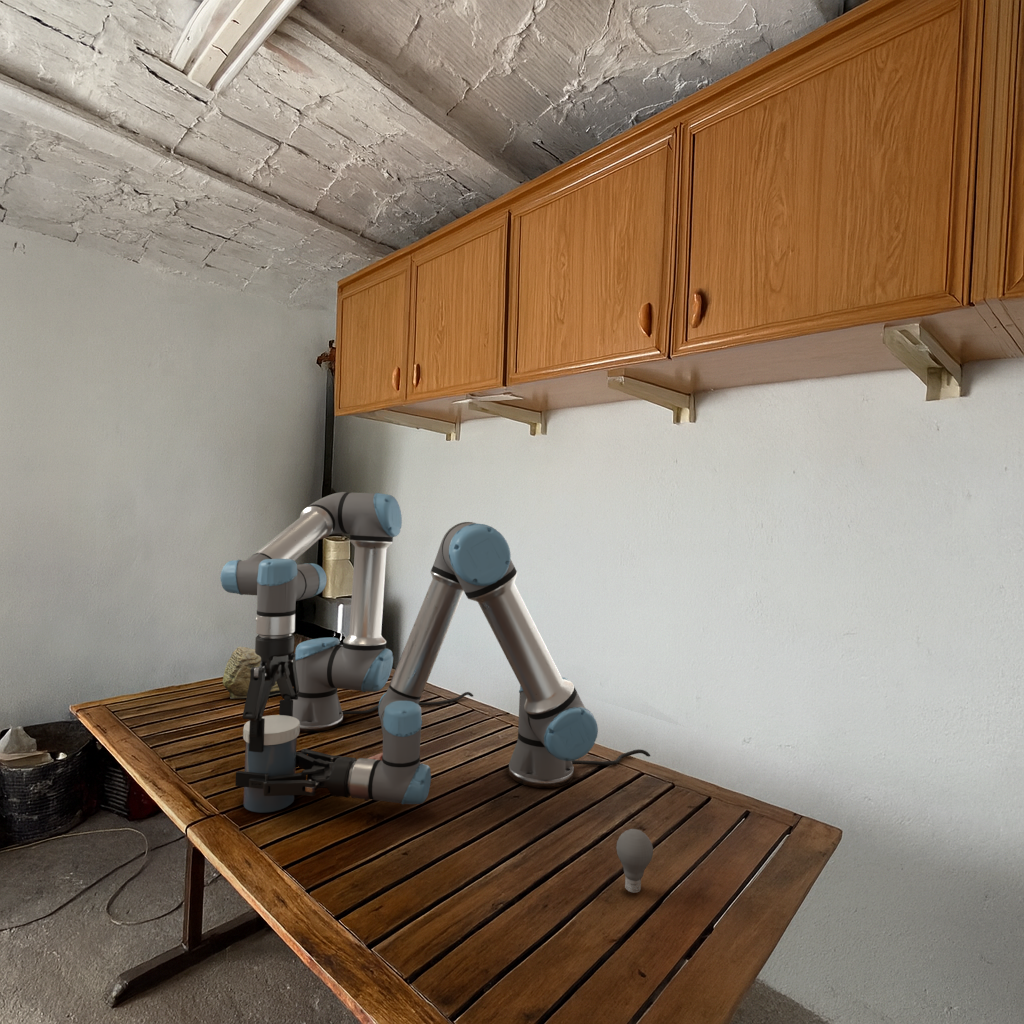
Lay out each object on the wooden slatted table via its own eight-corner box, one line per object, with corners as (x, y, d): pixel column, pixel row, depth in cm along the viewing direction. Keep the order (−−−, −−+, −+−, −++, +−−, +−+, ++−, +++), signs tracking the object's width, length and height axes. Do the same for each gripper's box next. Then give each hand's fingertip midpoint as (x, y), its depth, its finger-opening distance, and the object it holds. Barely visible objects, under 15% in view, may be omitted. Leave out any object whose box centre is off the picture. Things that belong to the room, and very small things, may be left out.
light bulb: (610, 879, 108) (613, 822, 108) (644, 879, 109) (647, 822, 109) (619, 902, 102) (622, 840, 102) (655, 901, 103) (658, 840, 103)
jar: (238, 796, 132) (241, 722, 132) (287, 786, 138) (290, 715, 138) (249, 817, 124) (252, 738, 124) (300, 805, 130) (303, 730, 129)
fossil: (218, 695, 195) (220, 647, 195) (278, 685, 208) (279, 640, 207) (228, 703, 189) (230, 653, 188) (289, 692, 201) (290, 645, 201)
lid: (244, 748, 123) (245, 736, 123) (241, 729, 133) (241, 718, 133) (303, 741, 128) (303, 729, 128) (295, 723, 138) (296, 712, 138)
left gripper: (286, 622, 142) (282, 719, 143) (224, 645, 119) (220, 761, 120) (317, 625, 141) (314, 722, 142) (261, 648, 118) (257, 765, 119)
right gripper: (330, 823, 118) (218, 811, 120) (372, 772, 140) (276, 763, 143) (332, 783, 117) (220, 772, 120) (373, 739, 140) (277, 730, 143)
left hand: (271, 740), depth 131 cm, fingers closed on lid, 11 cm apart
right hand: (250, 767), depth 131 cm, fingers closed on jar, 10 cm apart
